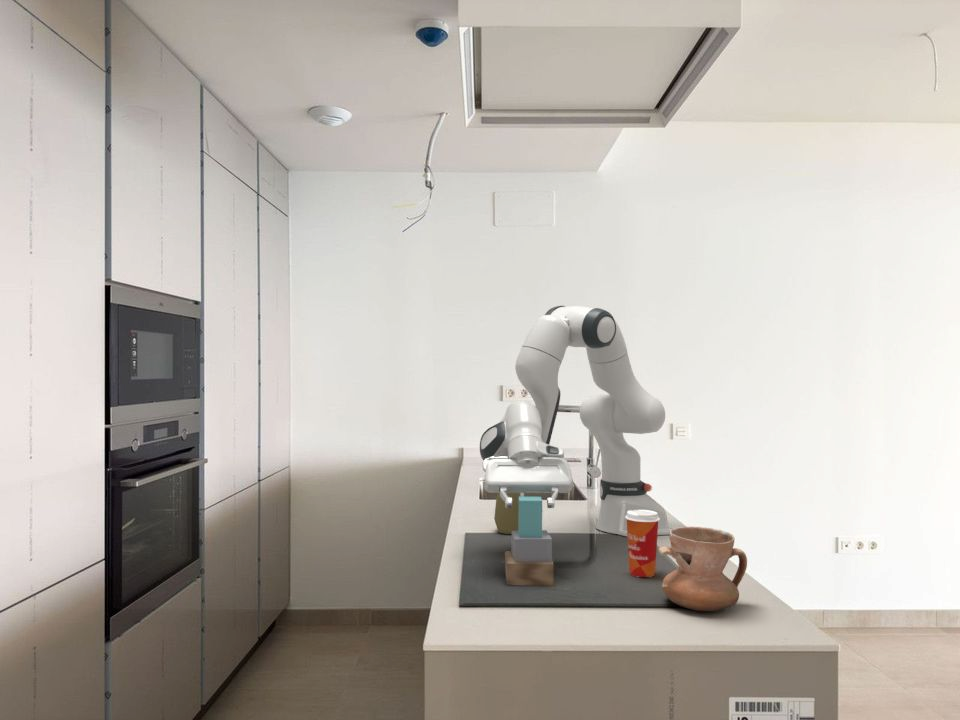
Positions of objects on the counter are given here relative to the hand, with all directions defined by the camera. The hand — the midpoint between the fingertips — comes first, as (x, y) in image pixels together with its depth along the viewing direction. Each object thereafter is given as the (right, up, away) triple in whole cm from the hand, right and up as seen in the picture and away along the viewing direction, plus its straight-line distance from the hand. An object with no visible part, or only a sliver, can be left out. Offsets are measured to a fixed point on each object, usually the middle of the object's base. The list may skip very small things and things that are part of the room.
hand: (529, 506), depth 153 cm
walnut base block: (0, -16, -1) cm, 16 cm away
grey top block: (0, -11, -1) cm, 11 cm away
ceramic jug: (+33, -16, -17) cm, 40 cm away
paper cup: (+26, -16, +3) cm, 31 cm away
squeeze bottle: (-3, -16, +42) cm, 45 cm away
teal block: (0, -6, 0) cm, 6 cm away
